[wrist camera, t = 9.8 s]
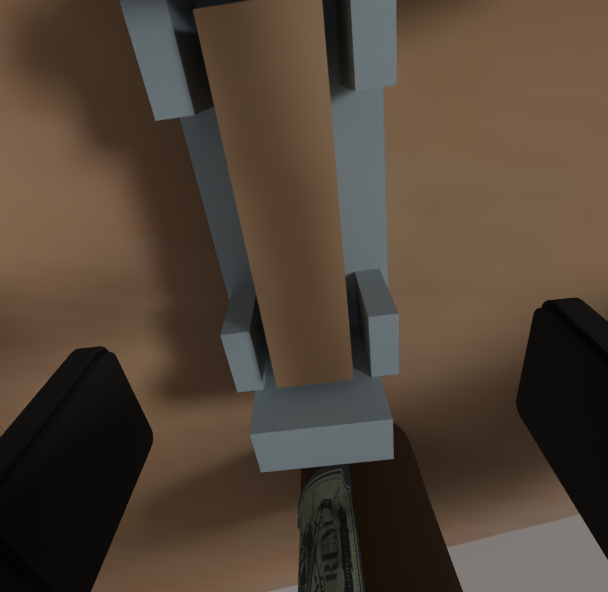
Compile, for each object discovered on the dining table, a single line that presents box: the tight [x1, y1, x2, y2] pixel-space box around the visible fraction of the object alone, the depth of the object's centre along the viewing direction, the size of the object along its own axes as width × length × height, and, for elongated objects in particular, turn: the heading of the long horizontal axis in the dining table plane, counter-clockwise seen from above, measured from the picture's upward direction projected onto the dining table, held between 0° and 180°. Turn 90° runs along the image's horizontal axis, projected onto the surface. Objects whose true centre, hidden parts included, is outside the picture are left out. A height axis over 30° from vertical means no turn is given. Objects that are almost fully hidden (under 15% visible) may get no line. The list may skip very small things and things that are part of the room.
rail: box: [193, 0, 354, 388], centre depth 18 cm, size 4×16×6 cm, turn 8°
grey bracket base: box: [119, 0, 399, 473], centre depth 18 cm, size 10×26×9 cm, turn 8°
